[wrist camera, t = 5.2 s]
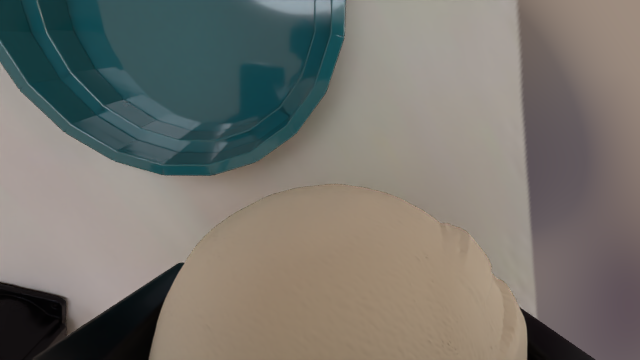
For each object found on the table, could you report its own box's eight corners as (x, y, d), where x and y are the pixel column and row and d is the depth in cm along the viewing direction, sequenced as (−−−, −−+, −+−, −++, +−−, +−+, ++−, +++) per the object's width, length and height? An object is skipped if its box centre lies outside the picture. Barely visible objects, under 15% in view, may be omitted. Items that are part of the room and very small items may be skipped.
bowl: (41, 104, 18) (-30, 120, 14) (35, -262, 12) (-85, -390, 9) (292, 180, 20) (286, 211, 16) (385, -106, 14) (409, -157, 11)
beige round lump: (458, 306, 11) (639, 647, 5) (255, 342, 12) (185, 683, 5) (442, 115, 8) (800, 329, 2) (180, 176, 9) (-124, 472, 3)
